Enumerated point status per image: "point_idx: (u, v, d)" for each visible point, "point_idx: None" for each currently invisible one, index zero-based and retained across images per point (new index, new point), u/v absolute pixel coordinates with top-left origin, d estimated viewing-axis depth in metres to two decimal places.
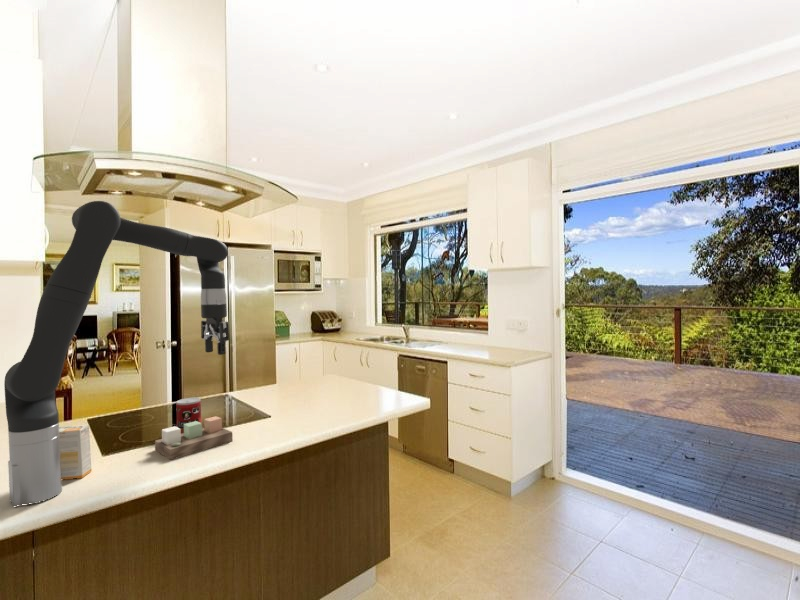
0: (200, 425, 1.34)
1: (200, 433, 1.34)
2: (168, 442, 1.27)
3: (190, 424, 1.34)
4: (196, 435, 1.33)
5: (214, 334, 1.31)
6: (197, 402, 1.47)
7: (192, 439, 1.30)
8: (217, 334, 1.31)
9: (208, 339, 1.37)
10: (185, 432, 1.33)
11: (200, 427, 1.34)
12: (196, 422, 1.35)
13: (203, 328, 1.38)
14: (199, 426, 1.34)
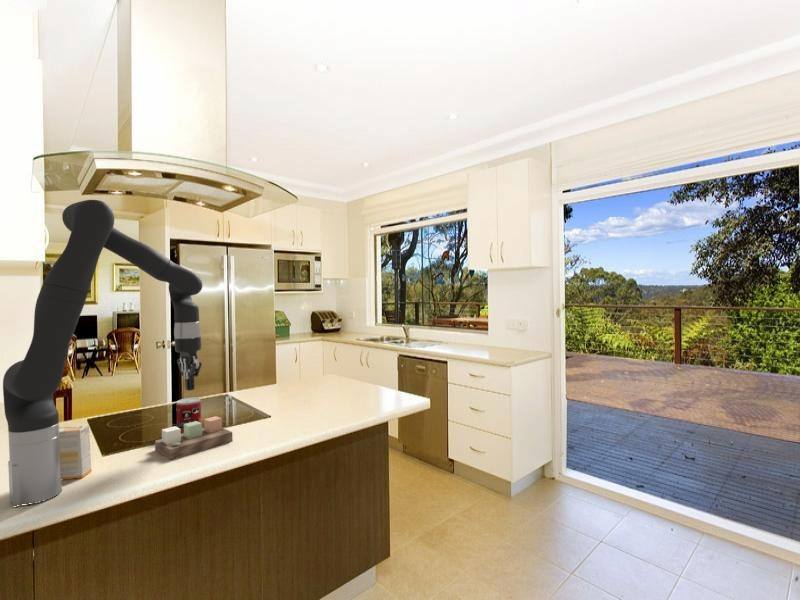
0: (200, 425, 1.34)
1: (200, 433, 1.34)
2: (168, 442, 1.27)
3: (190, 424, 1.34)
4: (196, 435, 1.33)
5: (185, 370, 1.32)
6: (197, 402, 1.47)
7: (192, 439, 1.30)
8: (188, 371, 1.32)
9: None
10: (185, 432, 1.33)
11: (200, 427, 1.34)
12: (196, 422, 1.35)
13: (180, 365, 1.36)
14: (199, 426, 1.34)
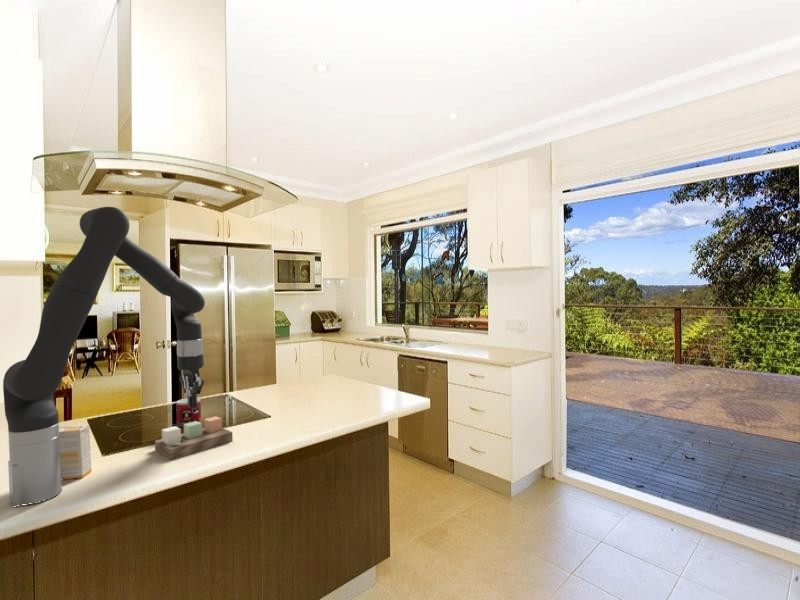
0: (200, 425, 1.34)
1: (200, 433, 1.34)
2: (168, 442, 1.27)
3: (190, 424, 1.34)
4: (196, 435, 1.33)
5: (187, 387, 1.32)
6: (197, 402, 1.47)
7: (192, 439, 1.30)
8: (190, 388, 1.32)
9: None
10: (185, 432, 1.33)
11: (200, 427, 1.34)
12: (196, 422, 1.35)
13: (183, 382, 1.36)
14: (199, 426, 1.34)
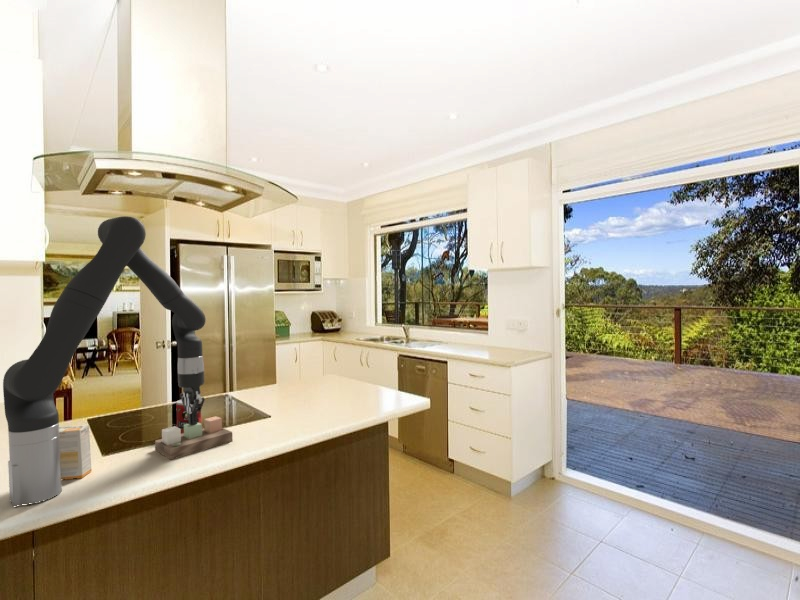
0: (200, 426, 1.34)
1: (200, 434, 1.34)
2: (168, 442, 1.27)
3: None
4: (196, 436, 1.33)
5: (188, 405, 1.32)
6: None
7: (192, 439, 1.30)
8: (191, 406, 1.32)
9: None
10: (185, 433, 1.33)
11: (200, 428, 1.34)
12: None
13: (183, 399, 1.36)
14: (199, 427, 1.34)
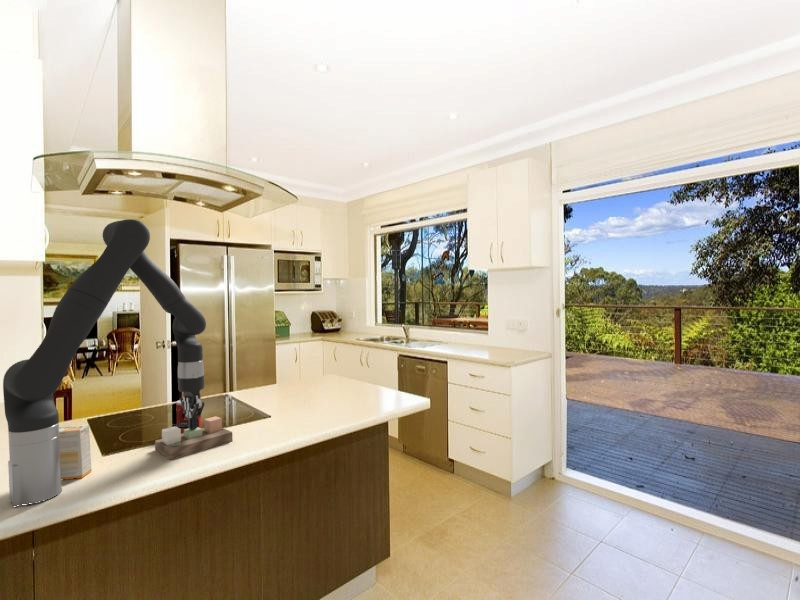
0: (200, 431, 1.34)
1: None
2: (168, 442, 1.27)
3: (190, 429, 1.34)
4: None
5: (188, 409, 1.32)
6: None
7: (192, 439, 1.30)
8: (191, 410, 1.32)
9: None
10: None
11: (200, 433, 1.34)
12: (196, 428, 1.35)
13: (183, 403, 1.36)
14: (199, 432, 1.34)
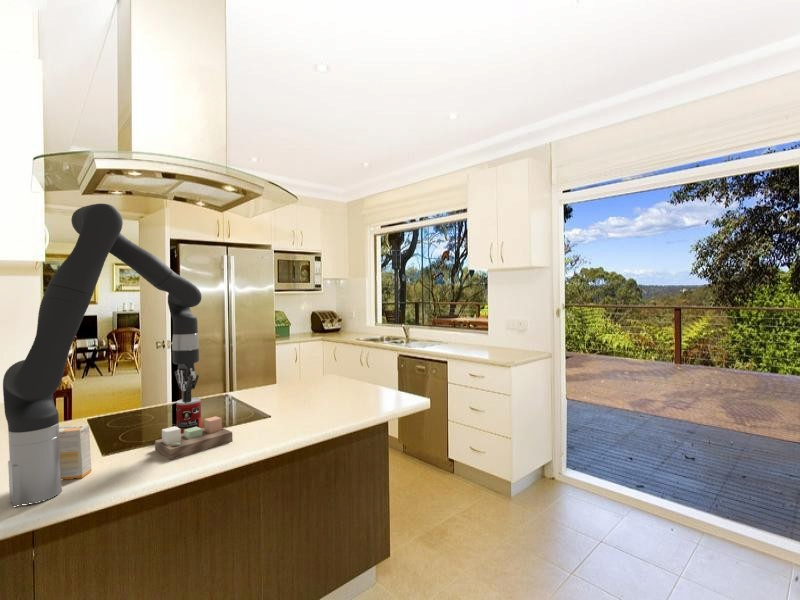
0: (200, 431, 1.34)
1: None
2: (168, 442, 1.27)
3: (190, 429, 1.34)
4: None
5: (182, 382, 1.31)
6: (197, 402, 1.47)
7: (192, 439, 1.30)
8: (185, 383, 1.32)
9: None
10: None
11: (200, 433, 1.34)
12: (196, 428, 1.35)
13: (178, 377, 1.35)
14: (199, 432, 1.34)
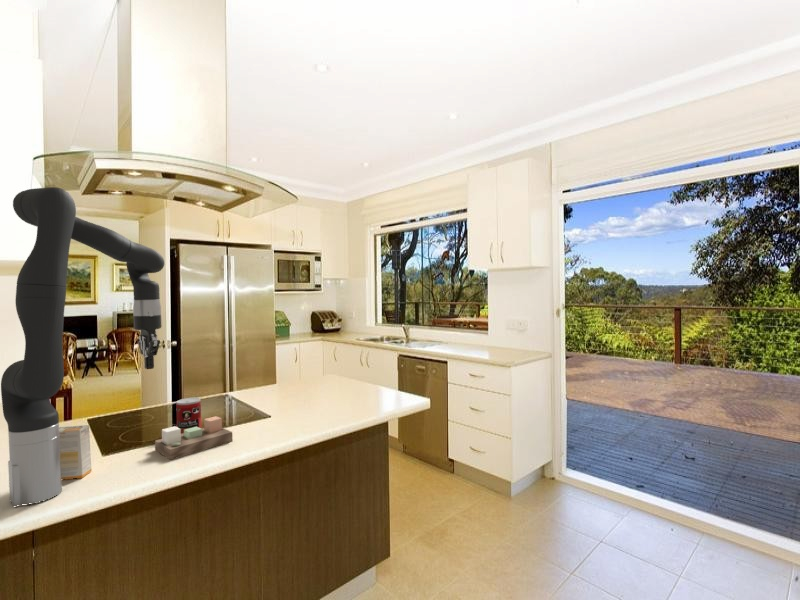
0: (200, 431, 1.34)
1: None
2: (168, 442, 1.27)
3: (190, 429, 1.34)
4: None
5: (144, 348, 1.30)
6: (197, 402, 1.47)
7: (192, 439, 1.30)
8: (147, 349, 1.31)
9: None
10: None
11: (200, 433, 1.34)
12: (196, 428, 1.35)
13: (140, 344, 1.34)
14: (199, 432, 1.34)
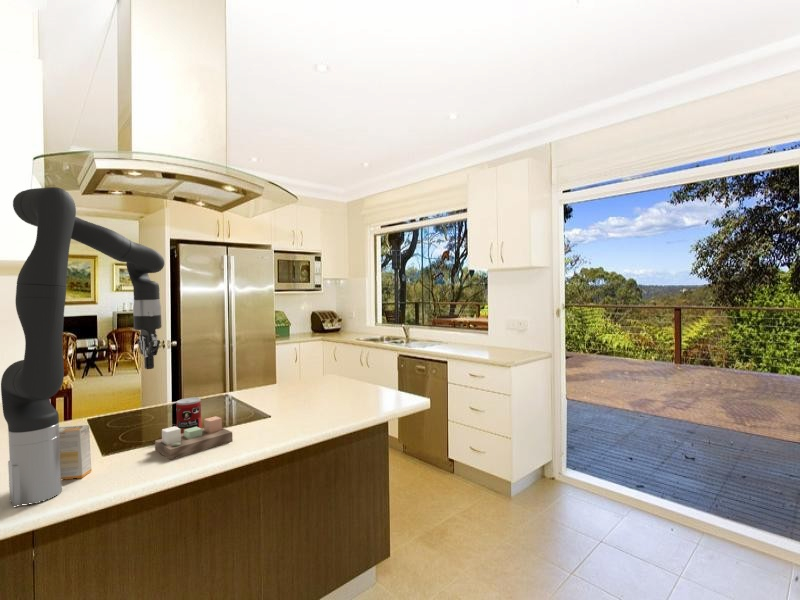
0: (200, 431, 1.34)
1: None
2: (168, 442, 1.27)
3: (190, 429, 1.34)
4: None
5: (144, 348, 1.30)
6: (197, 402, 1.47)
7: (192, 439, 1.30)
8: (147, 349, 1.31)
9: None
10: None
11: (200, 433, 1.34)
12: (196, 428, 1.35)
13: (140, 344, 1.34)
14: (199, 432, 1.34)
